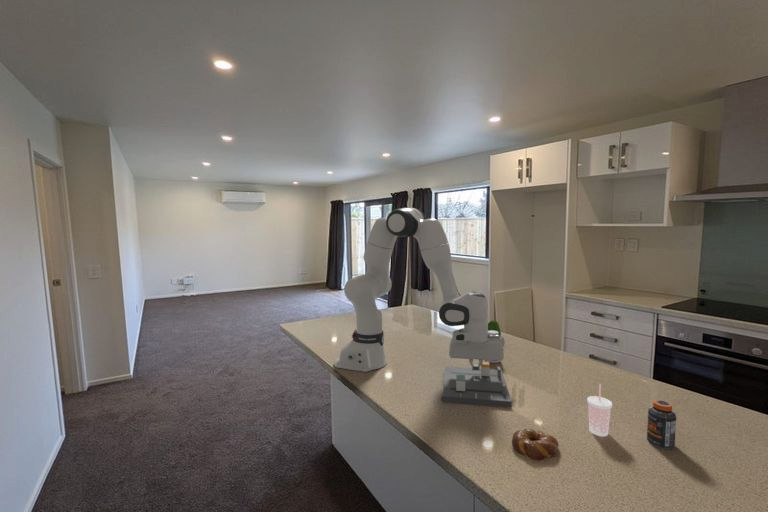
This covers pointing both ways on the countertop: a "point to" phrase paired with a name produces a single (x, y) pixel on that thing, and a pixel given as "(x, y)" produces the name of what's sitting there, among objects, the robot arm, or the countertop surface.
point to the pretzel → (534, 444)
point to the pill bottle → (661, 425)
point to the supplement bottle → (495, 335)
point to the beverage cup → (599, 414)
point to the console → (476, 387)
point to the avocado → (494, 326)
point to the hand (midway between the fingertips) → (475, 370)
